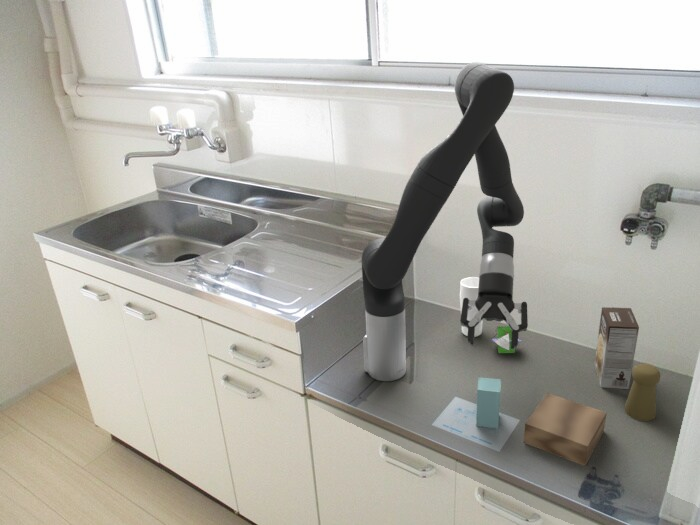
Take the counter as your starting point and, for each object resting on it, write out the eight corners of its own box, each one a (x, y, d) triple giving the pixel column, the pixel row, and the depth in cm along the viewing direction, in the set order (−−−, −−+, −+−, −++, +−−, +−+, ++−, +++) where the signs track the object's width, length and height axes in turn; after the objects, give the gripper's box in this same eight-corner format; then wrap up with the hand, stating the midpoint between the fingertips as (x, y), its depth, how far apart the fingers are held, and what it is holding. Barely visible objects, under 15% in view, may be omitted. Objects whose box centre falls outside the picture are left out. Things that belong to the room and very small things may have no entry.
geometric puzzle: (488, 333, 154) (492, 320, 147) (515, 332, 153) (520, 319, 146) (491, 359, 150) (496, 347, 143) (519, 358, 150) (525, 346, 143)
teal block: (476, 425, 124) (477, 389, 120) (477, 412, 128) (478, 377, 124) (498, 428, 122) (500, 392, 119) (498, 415, 126) (500, 379, 123)
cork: (629, 399, 129) (636, 356, 125) (659, 409, 125) (667, 365, 121) (620, 413, 125) (627, 369, 120) (651, 424, 121) (659, 379, 117)
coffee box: (593, 365, 142) (600, 305, 135) (621, 367, 140) (630, 307, 134) (600, 388, 133) (608, 325, 127) (630, 390, 132) (640, 327, 126)
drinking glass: (465, 341, 155) (467, 289, 149) (454, 329, 161) (455, 279, 155) (489, 336, 156) (491, 285, 150) (477, 324, 162) (479, 275, 156)
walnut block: (523, 443, 118) (525, 423, 116) (545, 412, 127) (547, 393, 125) (584, 467, 111) (587, 446, 109) (603, 432, 120) (606, 412, 118)
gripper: (463, 269, 132) (457, 339, 126) (530, 272, 128) (527, 345, 123) (465, 280, 139) (459, 348, 133) (528, 284, 135) (525, 354, 129)
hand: (492, 347), depth 128 cm, fingers open, 8 cm apart
